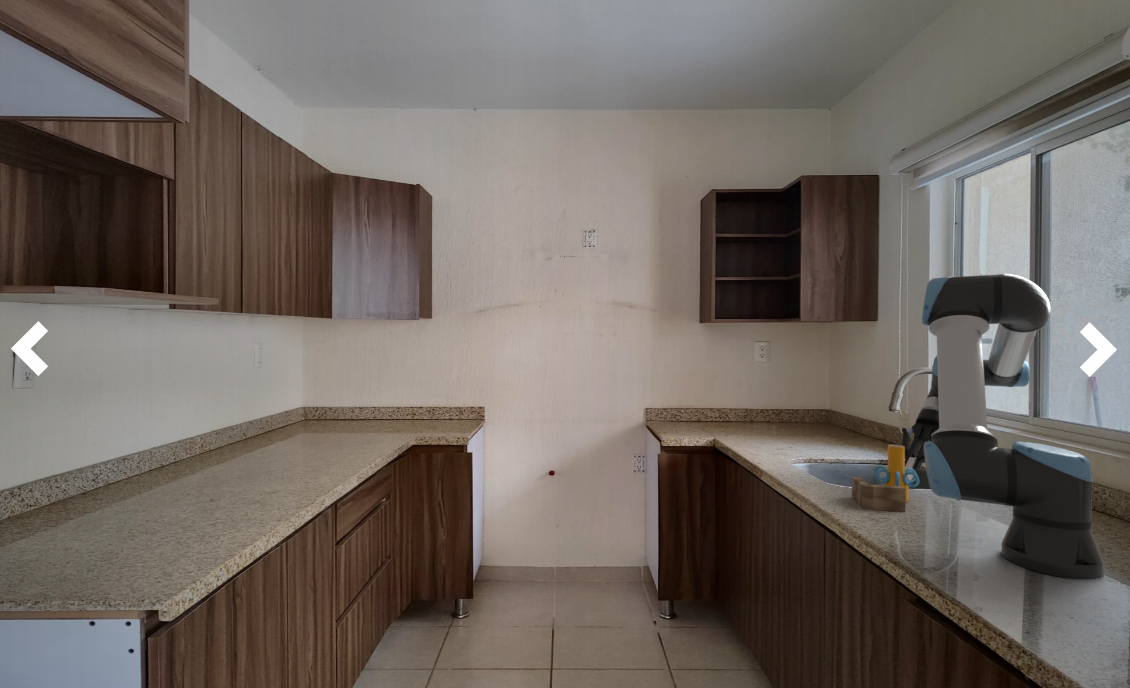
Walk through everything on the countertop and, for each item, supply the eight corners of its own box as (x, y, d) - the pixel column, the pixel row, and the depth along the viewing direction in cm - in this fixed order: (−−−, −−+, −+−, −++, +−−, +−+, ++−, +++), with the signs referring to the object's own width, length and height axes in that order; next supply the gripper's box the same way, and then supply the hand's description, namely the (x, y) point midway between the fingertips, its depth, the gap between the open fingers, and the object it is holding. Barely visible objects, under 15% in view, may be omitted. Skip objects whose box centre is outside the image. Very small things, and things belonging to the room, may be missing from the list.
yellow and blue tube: (873, 491, 157) (873, 440, 157) (915, 496, 152) (915, 443, 152) (875, 502, 146) (875, 448, 146) (920, 508, 142) (921, 451, 141)
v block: (854, 497, 151) (854, 476, 151) (908, 510, 139) (908, 487, 139) (837, 502, 147) (837, 480, 147) (891, 516, 135) (891, 492, 135)
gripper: (963, 426, 158) (935, 491, 149) (915, 420, 169) (887, 481, 160) (955, 410, 155) (926, 475, 146) (906, 405, 166) (877, 465, 157)
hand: (906, 478), depth 153 cm, fingers closed
